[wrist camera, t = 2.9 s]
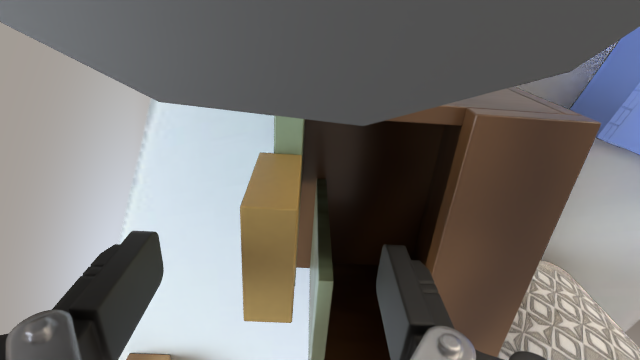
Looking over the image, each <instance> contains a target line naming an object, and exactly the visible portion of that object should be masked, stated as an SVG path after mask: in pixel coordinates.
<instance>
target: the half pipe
mask: <svg viewBox="0 0 640 360" xmlns="http://www.w3.org/2000/svg"><path fill="white" fill-rule="evenodd" d="M570 110H571V111H574V112H576V113H579V114H581V115H583V116H586V117H588V118H591V119H593V120H596V121H598V122H600V123H601V126H600V128H599V130H598V133H597V135H596V137H597V138H599V139H601V140H603V141H605V142H607V143H610V144H612V143H613V144H612V145H614V144H616V145H618V146H620V147H622V148H625V149H627V150H629V151H632V152H634V153H636V154H638V155H640V27H638V28H637V29H635V30H634V31H632V32H630V33H629V34H627V35H626V36H624V37H623V38H621V39H620V41H619V42H618V43H617V45H616V46H615V48H614V49H613V50H612V52H611V53H610V55H609V56H608V57H607V59H606V60H605V61H604V63H603V64H602V66H601V67H600V68H599V70H598V71H597V73H596V74H595V75H594V77H593V78H592V79H591V81H590V82H589V84H588V85H587V86H586V88H585V89H584V91H583V92H582V93H581V95H580V96H579V97H578V99H577V100H576V102H575V103H574V104H573V106H572V107H571V109H570ZM616 145H614V146H616ZM618 146H617V147H618ZM620 147H619V148H620Z"/></svg>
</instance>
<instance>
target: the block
mask: <svg viewBox="0 0 640 360" xmlns="http://www.w3.org/2000/svg"><path fill="white" fill-rule="evenodd" d="M126 360H171V358H170V355H159V354H129V356H128V358H127V359H126Z"/></svg>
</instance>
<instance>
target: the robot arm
mask: <svg viewBox="0 0 640 360" xmlns="http://www.w3.org/2000/svg"><path fill="white" fill-rule="evenodd" d="M162 277H163V261H162V255H161V249H160V242H159V237H158V234H157V233H156V232H149V231H132V232H131V233H130V234H129V235H128V236H127V237H126V239H125V240H124V241H123V242H122V244H121V245H117V244H115V245H113V246H112V247H110V248H108V249H107V250H105V251H104V252H102V253H101V254H100V255H99V256H98V257H97V258H96V259H95V260H94V262H93V263H92V264H91V267H88V269H87V270H86V271H85V272H84V273H83V276H81V277H80V278H79V279H78V280H77V281H76V282H75V284H74V285H73V286H72V287H71V288H70V289H69V291H68V292H67V293H66V294H65V295H64V296H63V297H62V298H61V300H60V301H59V302H58V303H57V305H55V307H54V308H53V309H52V310H48V311H43V312H40V313H37V314H35V315H32V316H30V317H28V318H27V319H25V320H23V321H22V322H21V323H19V324H18V325H17V326H16V327H14V328H13V330H12V331H11V332H10V333H9V334H4V335H0V360H118V359H119V357H120V355H121V353H122V352H123V350H124V348H125V346H126V344H127V343H128V341H129V339H130V337H131V336H132V334H133V332H134V330H135V328H136V327H137V325H138V323H139V321H140V319H141V318H142V316H143V314H144V312H145V310H146V309H147V307H148V305H149V303H150V301H151V300H152V298H153V296H154V294H155V292H156V291H157V289H158V287H159V285H160V283H161V280H162ZM376 291H377V297H378V302H379V307H380V311H381V316H382V321H383V325H384V330H385V335H386V339H387V344H388V349H389V353H390V358H391V360H504V359H501V358H497V357H494V356H491V355H488V354H485V353H482V352H480V351H478V350H476V349H475V348H474V346H473V344H472V343H471V342H470V340H469V339H468V338H467V337H466V336H465V335H463V334H462V333H461V332H459V331H457V330H455V328H454V326H453V324H452V322H451V319H450V317H449V315H448V312H447V310H446V308H445V305H444V303H443V301H442V298H441V296H440V294H438V289H437V287H436V285H435V284H434V280H433V278H432V275H431V273H430V271H429V270H428V269H427V268H426V267H425V266H424V264H423V263H422V262H421V261H420V260H411V259H410V257H409V254H408V251H407V249H406V247H405V246H404V245H387V244H384V245H383V247H382V252H381V257H380V263H379V268H378V273H377V280H376ZM509 360H547V359H545V358H544V357H542V356H540V355H538V354H535V353H532V352H527V351H518V352H515V353H513V354H512V355H511V356H510V358H509Z"/></svg>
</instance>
